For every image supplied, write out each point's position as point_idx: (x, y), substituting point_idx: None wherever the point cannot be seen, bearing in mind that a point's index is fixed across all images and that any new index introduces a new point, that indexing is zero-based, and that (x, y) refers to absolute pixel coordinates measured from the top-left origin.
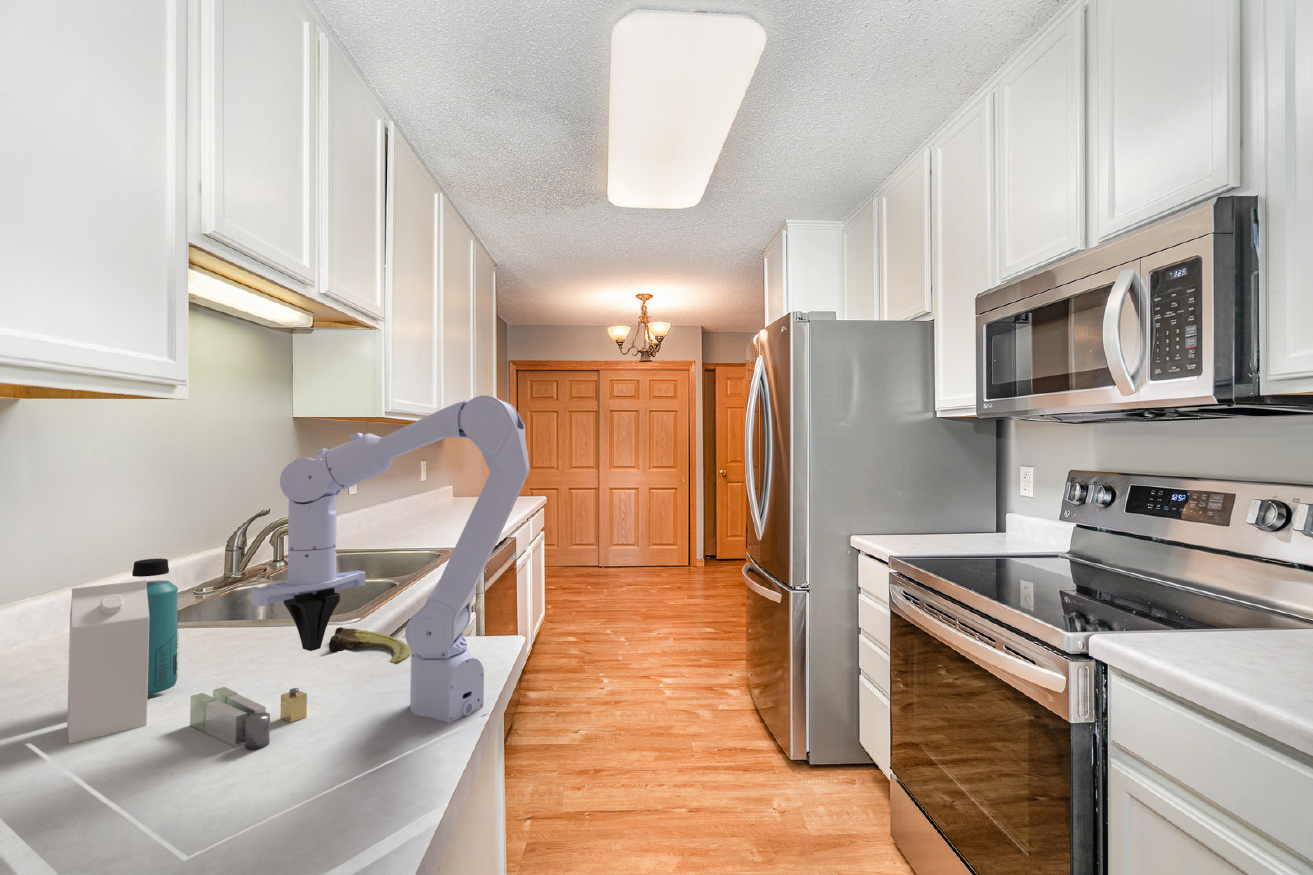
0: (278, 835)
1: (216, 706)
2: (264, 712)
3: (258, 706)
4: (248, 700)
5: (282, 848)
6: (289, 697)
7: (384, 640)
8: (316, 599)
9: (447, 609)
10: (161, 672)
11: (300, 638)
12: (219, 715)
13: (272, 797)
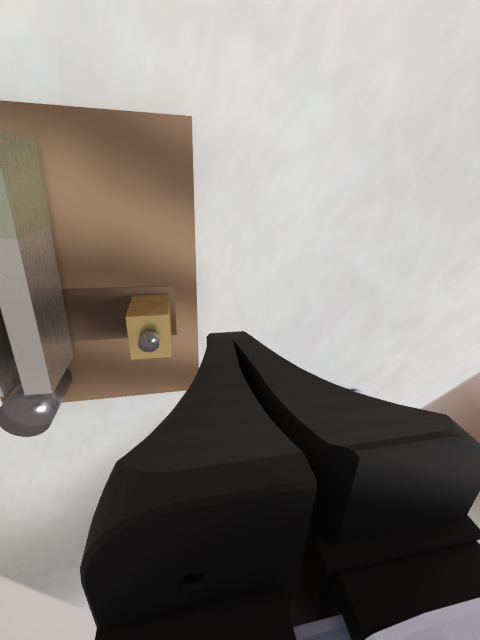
0: (16, 543)
1: None
2: (44, 407)
3: (39, 378)
4: (30, 320)
5: (12, 560)
6: (132, 348)
7: None
8: (298, 596)
9: None
10: None
11: (206, 348)
12: None
13: (36, 479)
